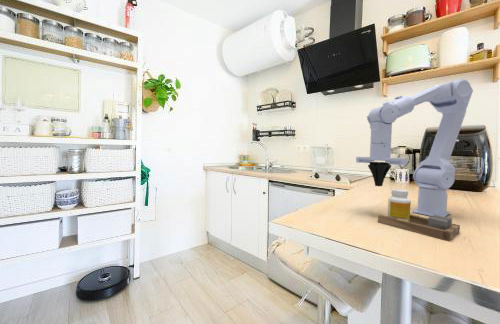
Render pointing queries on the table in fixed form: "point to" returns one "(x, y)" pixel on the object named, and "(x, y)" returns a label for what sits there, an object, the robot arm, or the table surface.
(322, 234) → the table surface
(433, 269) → the table surface
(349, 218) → the table surface
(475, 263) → the table surface
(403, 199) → the supplement bottle
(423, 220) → the beam
